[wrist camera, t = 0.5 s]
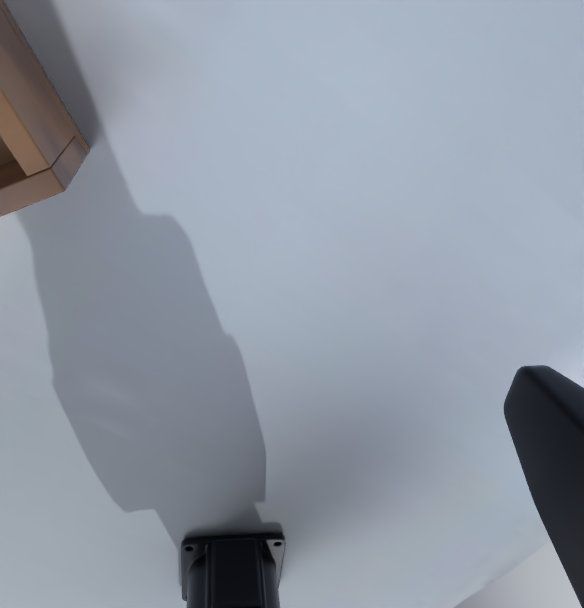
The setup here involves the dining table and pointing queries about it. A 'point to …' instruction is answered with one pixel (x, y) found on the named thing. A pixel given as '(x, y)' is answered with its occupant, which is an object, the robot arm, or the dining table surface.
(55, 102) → the crate
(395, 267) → the dining table surface
